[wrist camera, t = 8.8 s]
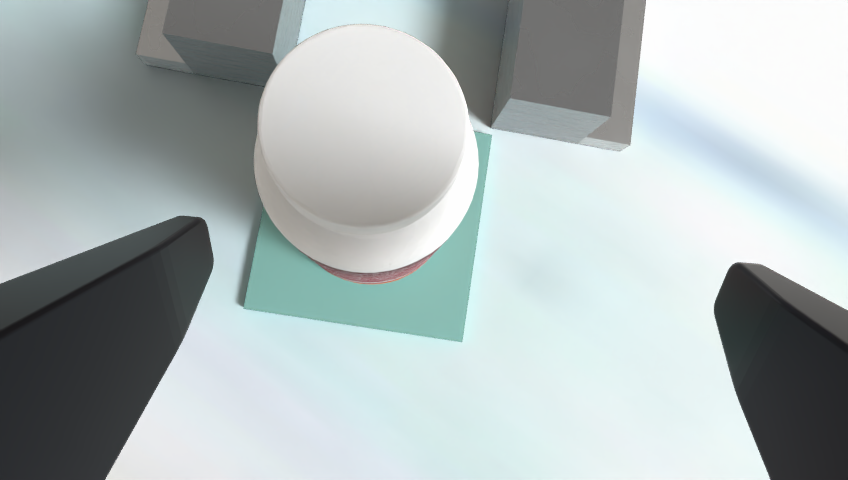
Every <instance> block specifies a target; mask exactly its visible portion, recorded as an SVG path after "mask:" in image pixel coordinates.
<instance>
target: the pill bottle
mask: <svg viewBox="0 0 848 480" xmlns="http://www.w3.org/2000/svg"><path fill="white" fill-rule="evenodd" d="M257 129H258V133H257V137H256V142H255V151H254V172H255V180H256V184H257V189H258V192H259V195H260V198H261V201H262V203H263V206H264V208H265V210H266V212H267V213H268V215H269V217H270V219H271V220H272V222H273V223H274V225H275V226H276V227H277V229H278V230H279V231H280V232H281V233H282V234H283V236H284V237H285V238H286V239H287V240H288V241H290V242H291V243H292V244H293V245H294V246H295V247H296V248H297V249H298V250H299V251H300V252H302V253H303V254H305V255H306V256H307V257H308V258H310V259H311V260H312V261H314V262H315V263H317V264H318V265H319V266H321V267H322V268H323V269H325V270H326V271H327V272H329V273H331V274H332V275H334V276H337V277H339V278H341V279H344V280H347V281H351V282H354V283H359V284H383V283H388V282H392V281H396V280H399V279H401V278H403V277H405V276H407V275H409V274H411V273H413V272H414V271H416V270H417V269H418V268H420V267H421V266H422V265H423V264H424V263H425V262H426V261H427V260H428V259H429V258H430V257H431V256H432V255H433V254H434V253H435V252H436V251H437V250H438V249H439V248H440V247H441V246H442V244H444V243H445V242H446V241H447V240H448V238H449V237H450V236H451V235H452V233H453V232H454V231H455V230H456V228H457V227H458V225H459V224H460V222H461V221H462V219H463V217H464V216H465V214H466V212H467V211H468V208H469V206H470V204H471V201H472V199H473V195H474V192H475V188H476V183H477V178H478V167H479V161H478V148H477V142H476V138H475V134H474V131H473V128H472V125H471V122H470V120H469V116H468V108H467V104H466V101H465V98H464V95H463V92H462V89H461V87H460V85H459V83H458V81H457V79H456V77H455V76H454V74H453V72H452V71H451V70H450V68H449V67H448V66H447V64H446V63H445V62H444V61H443V59H442V58H441V57H440V56H439V55H438V54H437V53H436V52H435V51H433V50H432V49H431V48H430V47H428V46H427V45H426V44H424V43H423V42H421V41H419V40H418V39H416V38H415V37H413V36H411V35H409V34H406V33H404V32H401V31H399V30H395V29H392V28H389V27H386V26H379V25H371V24H351V25H344V26H339V27H335V28H331V29H327V30H325V31H322V32H320V33H317V34H315V35H313V36H311V37H309V38H308V39H306V40H304V41H303V42H301V43H300V44H298V45H297V46H296V47H294V48H293V49H292V50H291V51H290V52H289V53H288V54H287V55H286V56H285V57H284V58H283V59H282V60H281V61H280V63H279V64H278V65H277V66H276V68H275V69H274V71H273V72H272V74H271V76H270V78H269V79H268V81H267V83H266V86H265V88H264V91H263V93H262V96H261V100H260V104H259V109H258V121H257Z"/></svg>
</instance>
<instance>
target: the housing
mask: <svg viewBox="0 0 848 480" xmlns="http://www.w3.org/2000/svg"><path fill="white" fill-rule="evenodd" d="M304 5H305V0H148V5H147V9H146V13H145V17H144V22H143V26H142V30H141V34H140V38H139V43H138V47H137V51H136V55H137V56H138V57H139V58H140V59H141V60H142V61H143V62H144V63H145V64H146V65H149V66H155V67H160V68H165V69H171V70H176V71H182V72H187V73H193V74H198V75H204V76H209V77H215V78H220V79H226V80H231V81H237V82H242V83H248V84H253V85H259V86H264V87H265V86H266V83H267V81H268V79H269V78H270V76H271V74H272V72H273V71H274V69H275V68H276V66H277V65H278V64H279V63H280V61H281V60H282V59H283V58H284V57H285V56H286V55H287V54H288V53H289V52H290V51H291V50H292V49H293V48H294V47H296V46H297V41H298V36H299V31H300V25H301V20H302V15H303V10H304ZM645 5H646V0H509V3H508V10H507V17H506V24H505V31H504V38H503V45H502V52H501V59H500V66H499V73H498V79H497V86H496V93H495V100H494V107H493V114H492V121H491V128H494V129H499V130H505V131H510V132H516V133H521V134H527V135H532V136H538V137H543V138H549V139H554V140H560V141H565V142H571V143H576V144H582V145H587V146H592V147H598V148H603V149H609V150H614V151H621V150H623V149H625V148H626V147H628V146H630V143H631V134H632V124H633V115H634V106H635V97H636V88H637V78H638V69H639V60H640V51H641V41H642V32H643V23H644V14H645Z"/></svg>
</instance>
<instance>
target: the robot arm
mask: <svg viewBox="0 0 848 480" xmlns="http://www.w3.org/2000/svg"><path fill="white" fill-rule="evenodd" d="M213 262H214V259H213V252H212V247H211V242H210V237H209V232H208V227H207V224H206V222H205V220H203V219H202V218H200V217H191V216H177V217H175V218H172V219H169V220H167V221H164V222H162V223H159V224H156V225H154V226H151V227H148V228H146V229H143V230H140V231H138V232H135V233H133V234H130V235H127V236H125V237H122V238H119V239H117V240H114V241H112V242H109V243H106V244H104V245H101V246H98V247H96V248H93V249H91V250H88V251H85V252H83V253H80V254H77V255H75V256H72V257H69V258H67V259H64V260H62V261H59V262H56V263H54V264H51V265H48V266H46V267H43V268H41V269H38V270H35V271H33V272H30V273H27V274H25V275H22V276H19V277H17V278H14V279H12V280H9V281H6V282H4V283H1V284H0V480H105V479H106V477H107V475H108V474H109V472H110V470H111V468H112V466H113V465H114V463H115V461H116V459H117V457H118V456H119V454H120V452H121V450H122V449H123V447H124V445H125V443H126V441H127V440H128V438H129V436H130V434H131V432H132V431H133V429H134V427H135V425H136V424H137V422H138V420H139V418H140V416H141V415H142V413H143V411H144V409H145V407H146V406H147V404H148V402H149V400H150V399H151V397H152V395H153V393H154V391H155V390H156V388H157V386H158V384H159V382H160V381H161V379H162V377H163V375H164V374H165V372H166V370H167V368H168V366H169V365H170V363H171V361H172V359H173V357H174V356H175V354H176V352H177V350H178V348H179V346H180V345H181V343H182V341H183V339H184V336H185V334H186V332H187V330H188V328H189V325H190V323H191V320H192V318H193V315H194V313H195V311H196V308H197V306H198V303H199V301H200V298H201V296H202V294H203V291H204V289H205V286H206V284H207V282H208V279H209V277H210V274H211V272H212V269H213ZM714 315H715V319H716V323H717V327H718V330H719V334H720V338H721V341H722V345H723V349H724V353H725V356H726V360H727V364H728V367H729V371H730V375H731V378H732V382H733V385H734V388H735V391H736V394H737V397H738V400H739V402H740V405H741V408H742V410H743V413H744V415H745V418H746V420H747V422H748V425H749V427H750V430H751V432H752V435H753V437H754V440H755V442H756V445H757V447H758V450H759V452H760V455H761V457H762V460H763V462H764V465H765V467H766V470H767V472H768V475H769V477H770V480H848V310H846V309H844V308H842V307H840V306H838V305H836V304H835V303H833V302H831V301H829V300H827V299H825V298H823V297H821V296H820V295H818V294H816V293H814V292H812V291H810V290H808V289H806V288H805V287H803V286H801V285H799V284H797V283H795V282H793V281H791V280H790V279H788V278H786V277H784V276H782V275H780V274H778V273H777V272H775V271H773V270H771V269H769V268H767V267H765V266H763V265H761V264H753V263H741V262H738V263H735V264H733V265H732V266H731V267H730V268H729V270H728V272H727V274H726V276H725V279H724V281H723V284H722V286H721V288H720V291H719V293H718V295H717V298H716V300H715V304H714Z"/></svg>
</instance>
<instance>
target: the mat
mask: <svg viewBox="0 0 848 480" xmlns="http://www.w3.org/2000/svg"><path fill="white" fill-rule="evenodd" d="M474 134H475V138H476V142H477V148H478V161H479V167H478V178H477V183H476V188H475V192H474V195H473V199H472V201H471V204H470V206H469V208H468V211H467V212H466V214H465V216H464V217H463V219H462V221H461V222H460V224H459V225H458V227H457V228H456V230H455V231H454V232H453V233H452V235H451V236H450V237H449V238H448V240H447V241H446V242H445V243H444V244H442V246H441V247H440V248H439V249H438V250H437V251H436V252H435V253H434V254H433V255H432V256H431V257H430V258H429V259H428V260H427V261H426V262H425V263H424V264H423V265H422V266H421V267H420V268H418V269H417V270H416V271H414V272H413V273H411V274H409V275H407V276H405V277H403V278H401V279H399V280H396V281H392V282H388V283H383V284H359V283H354V282H351V281H347V280H344V279H341V278H339V277H337V276H334V275H332V274H331V273H329V272H327V271H326V270H325V269H323V268H322V267H321V266H319V265H318V264H317V263H315V262H314V261H312V260H311V259H310V258H308V257H307V256H306V255H305V254H303V253H302V252H300V251H299V250H298V249H297V248H296V247H295V246H294V245H293V244H292V243H291V242H290V241H288V240H287V239H286V238H285V237H284V236H283V234H282V233H281V232H280V231H279V230H278V229H277V227H276V226H275V225H274V223H273V222H272V220H271V219H270V217H269V215H268V213H267V212H266V210H265V208H264V207H263V212H262V217H261V222H260V227H259V232H258V237H257V242H256V247H255V252H254V258H253V263H252V268H251V273H250V278H249V283H248V288H247V293H246V298H245V303H244V308H243V309H249V310H255V311H262V312H268V313H275V314H281V315H288V316H295V317H301V318H308V319H314V320H321V321H327V322H334V323H340V324H347V325H353V326H360V327H366V328H373V329H379V330H386V331H392V332H399V333H406V334H412V335H419V336H425V337H432V338H438V339H445V340H451V341H458V342H462V340H463V333H464V326H465V319H466V312H467V305H468V298H469V291H470V284H471V278H472V271H473V264H474V257H475V250H476V243H477V236H478V229H479V222H480V215H481V208H482V201H483V194H484V187H485V180H486V173H487V166H488V159H489V152H490V145H491V138H492V135H490V134H484V133H479V132H474Z"/></svg>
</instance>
